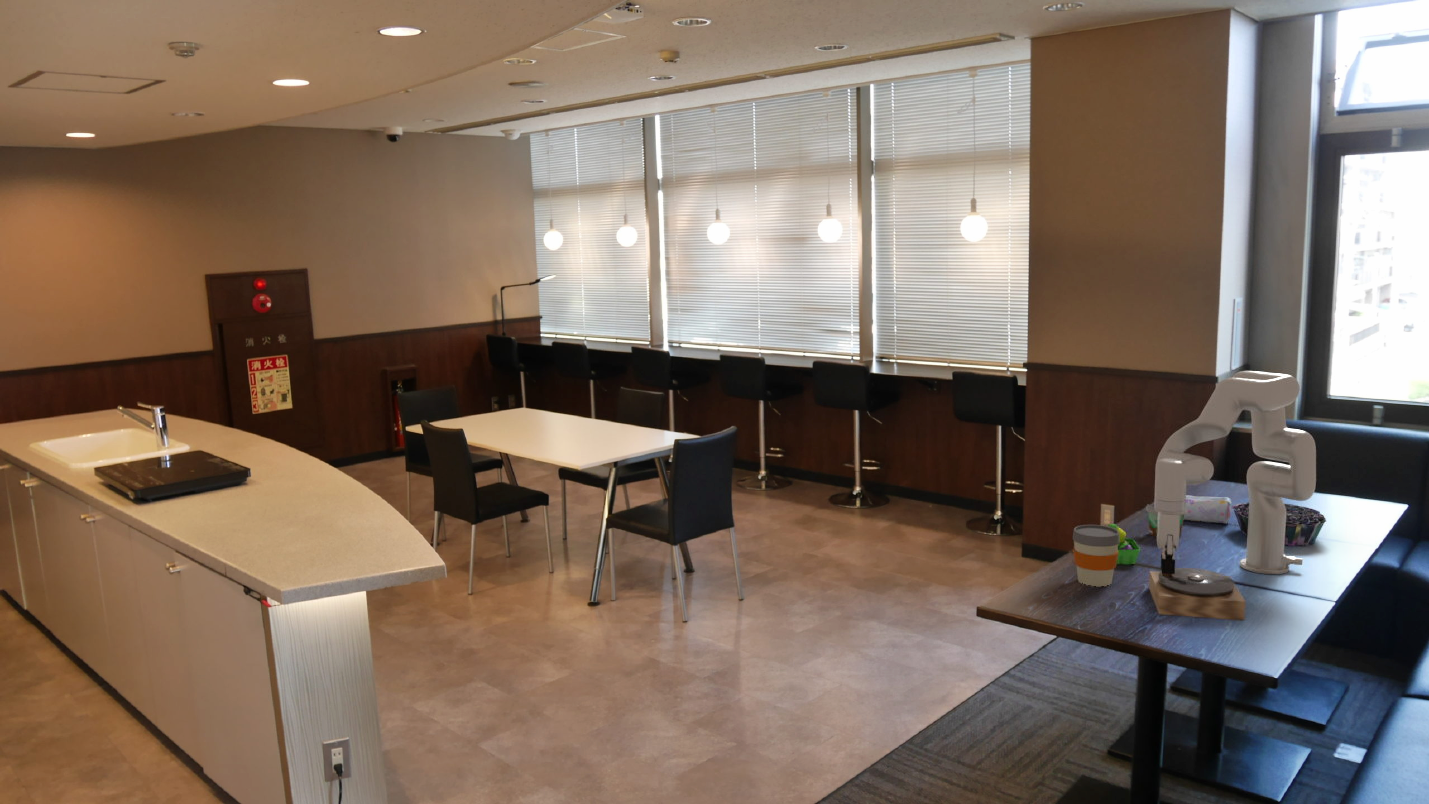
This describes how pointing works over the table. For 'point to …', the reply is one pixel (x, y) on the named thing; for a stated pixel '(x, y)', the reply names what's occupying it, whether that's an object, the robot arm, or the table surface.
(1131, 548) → the fruit basket
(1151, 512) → the food container
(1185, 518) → the pencil case
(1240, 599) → the block
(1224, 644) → the table surface
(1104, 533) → the reusable coffee cup
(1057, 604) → the table surface
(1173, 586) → the handwheel
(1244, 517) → the decorative bowl
